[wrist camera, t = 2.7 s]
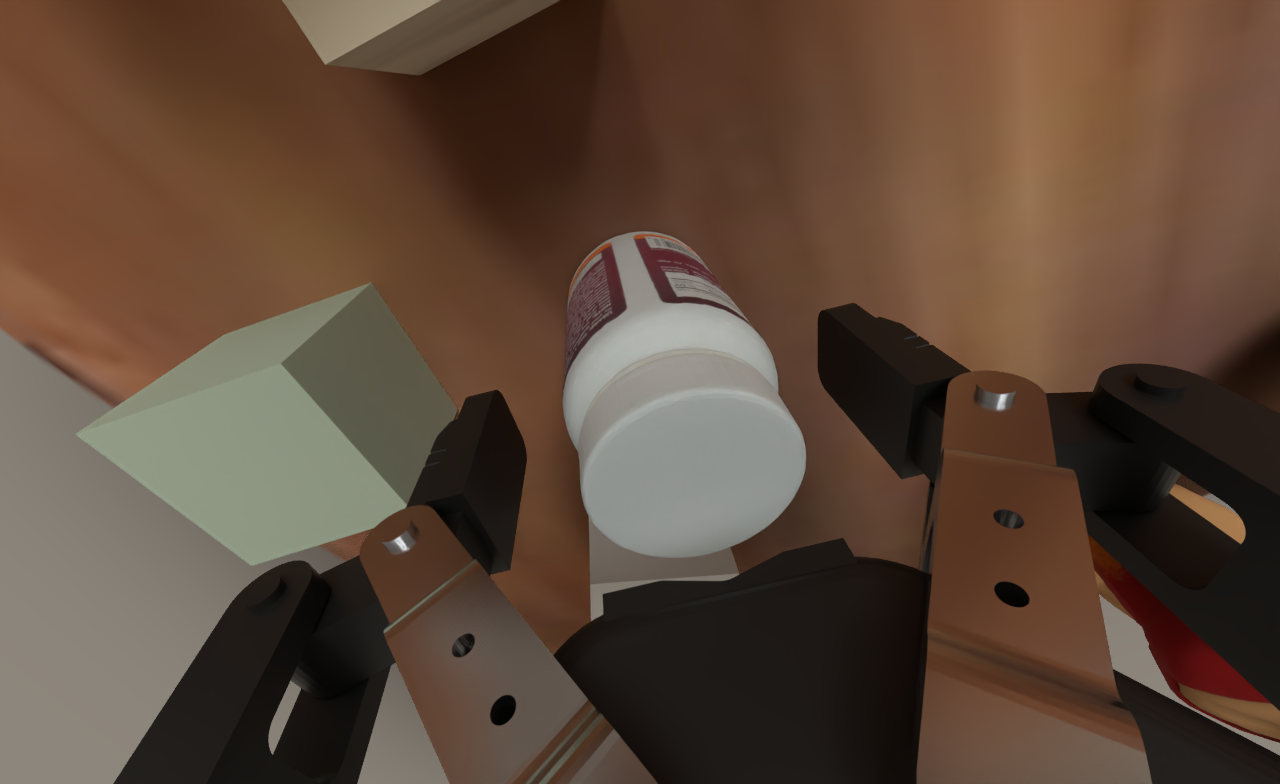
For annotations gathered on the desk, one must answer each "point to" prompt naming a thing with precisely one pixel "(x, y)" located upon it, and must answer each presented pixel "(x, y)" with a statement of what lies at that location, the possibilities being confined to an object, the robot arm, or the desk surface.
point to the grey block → (646, 568)
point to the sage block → (286, 428)
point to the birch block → (404, 29)
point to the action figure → (1189, 637)
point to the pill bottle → (672, 403)
